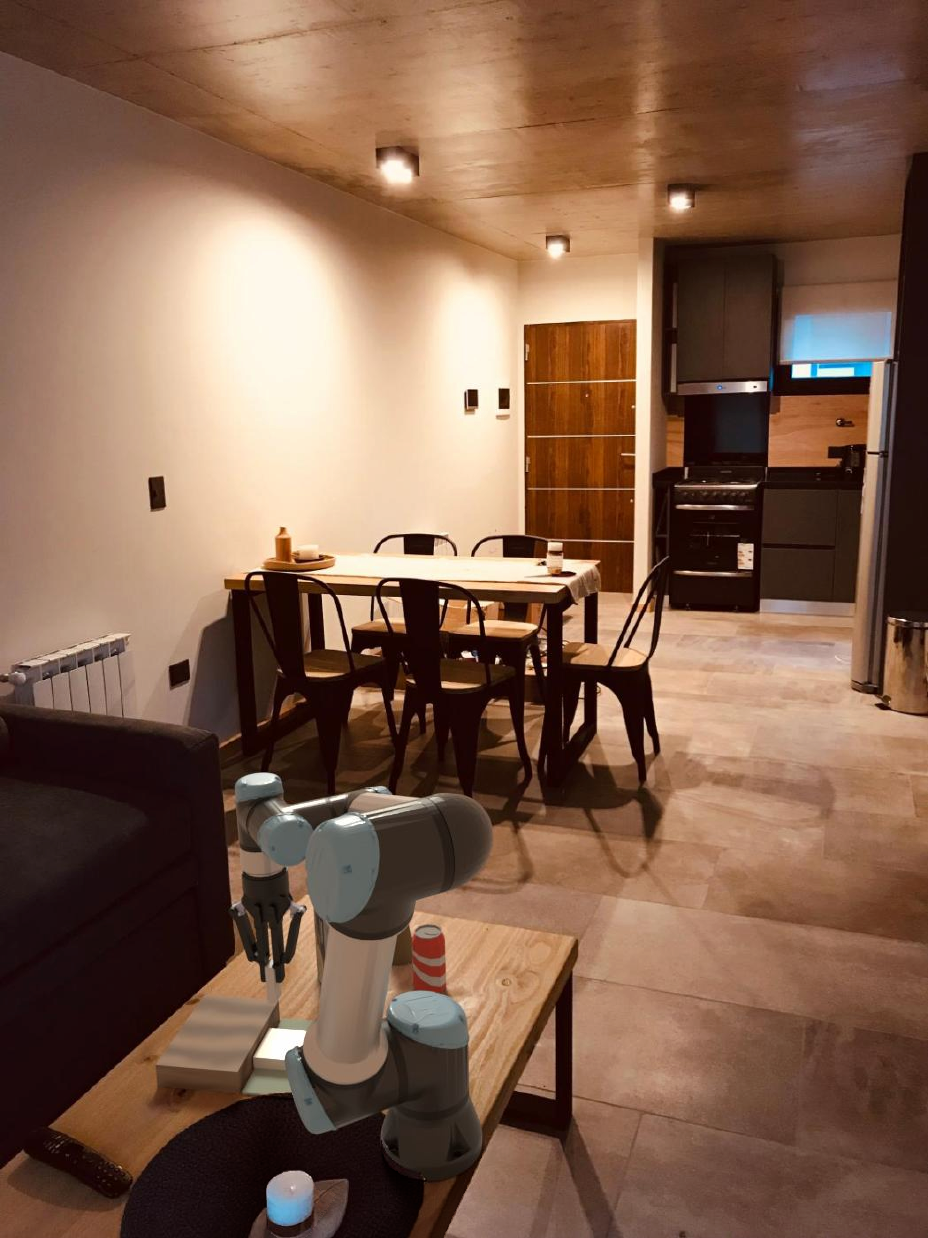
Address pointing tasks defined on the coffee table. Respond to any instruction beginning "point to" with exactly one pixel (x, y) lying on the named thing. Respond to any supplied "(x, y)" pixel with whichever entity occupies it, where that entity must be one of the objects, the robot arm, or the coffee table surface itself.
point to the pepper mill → (403, 948)
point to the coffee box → (320, 942)
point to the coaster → (276, 1048)
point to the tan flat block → (217, 1044)
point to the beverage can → (429, 959)
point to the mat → (271, 1078)
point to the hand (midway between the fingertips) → (274, 998)
